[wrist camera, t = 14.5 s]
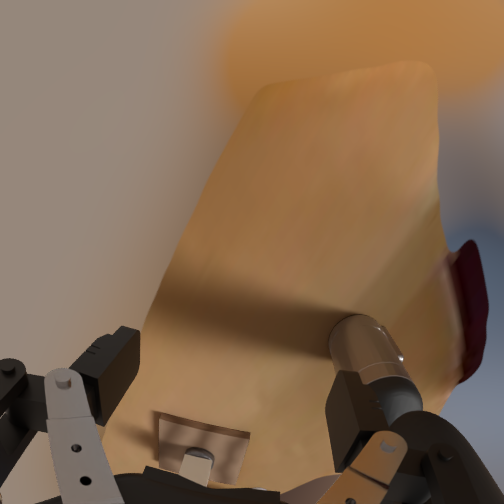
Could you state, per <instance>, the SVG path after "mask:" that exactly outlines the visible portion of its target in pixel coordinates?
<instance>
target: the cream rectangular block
mask: <svg viewBox="0 0 504 504" xmlns="http://www.w3.org/2000/svg"><path fill="white" fill-rule="evenodd" d="M211 465H212V460H208V459H204V458H199V457H195V456H191V455H187V454H185V455H184V458H183V461H182V465H181V468H180V471H179V474H178V475H180V476H182V477H185V478H187V479H189V480H191V481H193V482H196V483H198V484H200V485H203V486H205V487H207V483H208V479H209V475H210V470H211Z"/></svg>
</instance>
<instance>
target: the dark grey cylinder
mask: <svg viewBox="0 0 504 504" xmlns="http://www.w3.org/2000/svg"><path fill="white" fill-rule="evenodd" d="M185 454H187V455H191V456H195V457H199V458H204V459H208V460H212V465H211V469H212V468H213V465H214V461H215V457H214V455H213V454H212V453H211V452H210V451H208V450H206V449H204V448H200V447H191V448H188V449H187V450H186V451H185ZM185 454H184V455H185ZM183 458H184V457H183Z"/></svg>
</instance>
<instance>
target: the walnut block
mask: <svg viewBox="0 0 504 504" xmlns="http://www.w3.org/2000/svg"><path fill="white" fill-rule="evenodd" d="M249 440H250V433H249V432H244V431H238V430H233V429H228V428H223V427H218V426H214V425H209V424H205V423H200V422H196V421H192V420H188V419H184V418H180V417H176V416H173V415H169V414H165V413H162V414H161V416H160V418H159V468H162V469H165V470H169V471H172V472H176V473H179V471H180V468H181V465H182V461H183V457H184V454H185V451H186V450H187V449H188V448H191V447H200V448H204V449H206V450H208V451H210V452H211V453H212V454H213V455H214V457H215V461H214V465H213V468H212V469H211V470H210V475H209V479H208V480H210V481H215V482H220V483H225V484H230V485H236V482H237V479H238V476H239V472H240V469H241V466H242V463H243V459H244V456H245V453H246V450H247V446H248V443H249Z"/></svg>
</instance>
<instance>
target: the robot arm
mask: <svg viewBox="0 0 504 504" xmlns="http://www.w3.org/2000/svg"><path fill="white" fill-rule="evenodd" d="M329 349H330V354H331V357H332V361H333V365H334V369H335V373H336V378H335V380H334V383H333V386H332V388H331V391H330V393H329V396H328V398H327V401H326V407H325V414H326V420H327V425H328V431H329V437H330V443H331V449H332V455H333V461H334V467H335V473H342V474H341V475H340V476H339V478H338V479H337V480H336V481H335V482H334V484H333V485H332V486H331V487H330V488H329V490H327V492H326V493H325V494H324V495H323V496H322V497H321V498H320V499H319V501H318V502H317V503H316V504H504V495H503V493H502V492H501V490H500V489H499V487H498V485H497V484H496V482H495V481H494V479H493V478H492V476H491V475H490V473H489V471H488V470H487V468H486V467H485V465H484V464H483V462H482V461H481V459H480V458H479V456H478V455H477V453H476V452H475V450H474V449H473V448H472V446H471V445H470V443H469V442H468V441H467V440H466V439H465V437H464V436H463V435H462V434H461V433H460V432H459V431H458V430H457V429H456V428H455V427H454V426H453V425H452V424H451V423H449V422H448V421H447V420H445V419H443V418H441V417H440V416H438V415H436V414H433V413H431V412H427V411H423V402H422V398H421V395H420V393H419V391H418V389H417V388H416V386H415V384H414V383H413V381H412V379H411V378H410V376H409V374H408V372H407V371H406V369H405V367H404V366H403V364H402V361H403V358H404V356H403V354H402V353H401V351H400V350H399V348H398V346H397V345H396V343H395V342H394V340H393V338H392V337H391V335H390V334H389V332H388V331H387V329H386V327H382V326H380V325H379V324H378V323H377V321H376V320H374V319H373V318H371V317H369V316H365V315H354V316H350V317H348V318H345V319H343V320H342V321H340V322H339V323H338V324H337V325H336V326H335V327H334V329H333V330H332V332H331V334H330V336H329ZM139 365H140V331H139V330H136V329H132V328H128V327H125V326H121V327H120V328H119V329H118V330H117V331H116V332H115V333H114V334H113V335H110V334H106V335H104V336H102V337H100V338H97V339H96V340H95V342H93V343H92V345H91V346H90V347H89V348H88V349H87V350H86V352H84V353H83V354H82V355H81V356H80V357H79V358H78V359H77V360H76V361H75V362H74V363H73V364H72V365H71V366H70V367H69V368H68V369H67V368H59V369H55V370H52V371H50V372H49V373H48V374H47V375H46V376H45V377H43V376H37V375H32V374H27V373H26V368H25V366H24V364H23V363H22V362H21V361H19V360H16V359H11V358H9V359H2V360H0V417H1V416H2V415H3V413H4V412H6V413H5V414H4V415H3V416H2V417H1V419H0V487H1V486H2V484H3V483H4V481H5V480H6V478H7V477H8V475H9V473H10V472H11V470H12V469H13V467H14V466H15V464H16V463H17V461H18V460H19V458H20V457H21V455H22V454H23V452H24V451H25V449H26V447H27V446H28V445H29V443H30V442H31V440H32V439H33V438H34V436H35V435H36V433H37V432H38V431H41V432H46V433H48V436H49V442H50V448H51V454H52V459H53V464H54V469H55V473H56V478H57V482H58V486H59V490H60V494H61V495H60V496H57V497H54V498H51V499H49V500H45V501H43V502H39V503H36V504H288V503H286V502H283V501H280V492H277V491H267V490H258V489H251V488H235V489H211V488H208V487H205V486H203V485H200V484H198V483H196V482H193V481H191V480H189V479H187V478H185V477H182V476H180V475H178V474H174V473H171V472H167V471H163V470H160V469H156V468H153V467H149V466H146V467H145V469H144V472H143V474H141V473H125V474H118V475H114V476H113V474H112V471H111V469H110V466H109V463H108V460H107V458H106V455H105V452H104V449H103V446H102V443H101V440H100V437H99V434H98V431H97V428H96V424H98V425H101V426H103V427H104V426H105V425H106V423H107V421H108V420H109V418H110V417H111V415H112V413H113V412H114V410H115V409H116V407H117V405H118V404H119V402H120V401H121V399H122V397H123V396H124V394H125V393H126V391H127V390H128V388H129V386H130V385H131V383H132V382H133V380H134V379H135V377H136V375H137V373H138V370H139ZM0 504H2V496H1V493H0Z"/></svg>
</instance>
